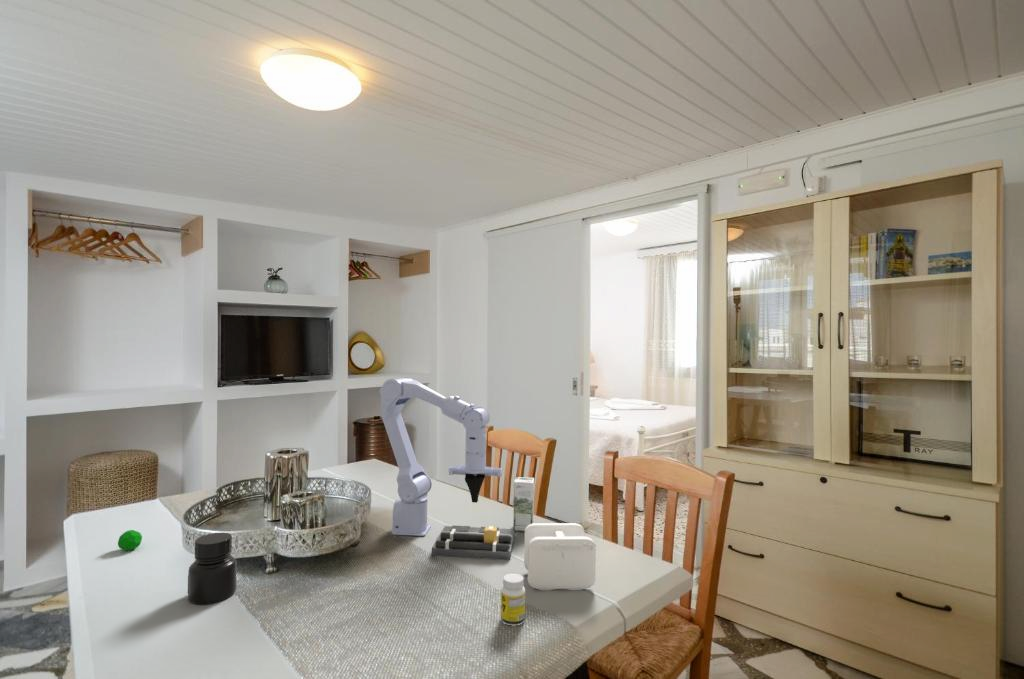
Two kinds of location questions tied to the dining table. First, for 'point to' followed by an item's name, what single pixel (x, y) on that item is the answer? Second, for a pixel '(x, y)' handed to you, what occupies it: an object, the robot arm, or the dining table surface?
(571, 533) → the cable organizer
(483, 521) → the dining table surface
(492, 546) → the cable bundles
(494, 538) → the block
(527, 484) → the syrup box
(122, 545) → the polyhedron
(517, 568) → the dining table surface
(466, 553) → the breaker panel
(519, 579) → the supplement bottle
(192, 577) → the ink bottle
